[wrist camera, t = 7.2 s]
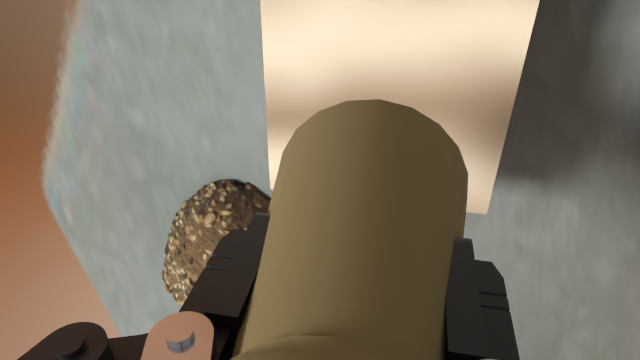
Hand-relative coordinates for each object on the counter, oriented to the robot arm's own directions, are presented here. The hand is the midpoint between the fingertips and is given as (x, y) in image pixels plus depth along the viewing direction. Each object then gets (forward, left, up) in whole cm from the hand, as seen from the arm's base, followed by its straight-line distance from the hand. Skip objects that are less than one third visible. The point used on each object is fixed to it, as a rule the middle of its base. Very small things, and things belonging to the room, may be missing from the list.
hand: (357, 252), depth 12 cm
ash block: (0, 0, -16) cm, 16 cm away
